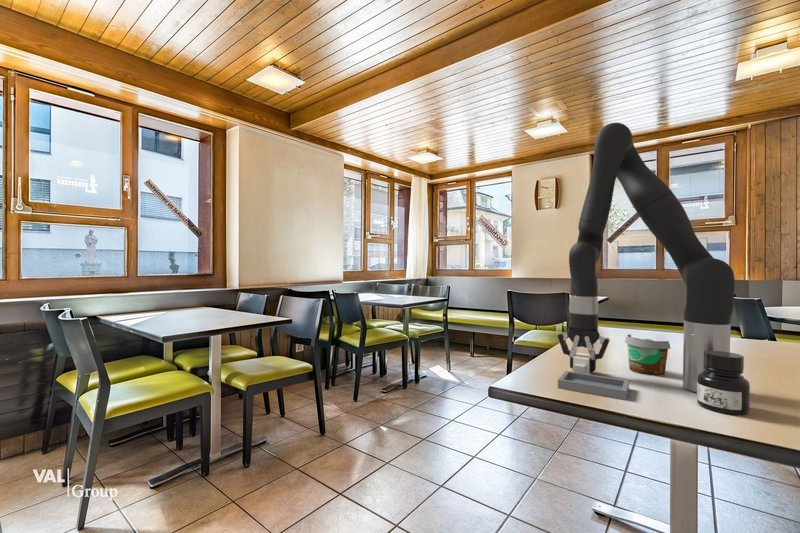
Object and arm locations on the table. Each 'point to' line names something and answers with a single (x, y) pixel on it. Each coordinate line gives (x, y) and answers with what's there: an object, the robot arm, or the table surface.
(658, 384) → the table surface
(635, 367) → the food container
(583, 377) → the tray
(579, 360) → the plug
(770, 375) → the table surface
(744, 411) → the ink bottle
